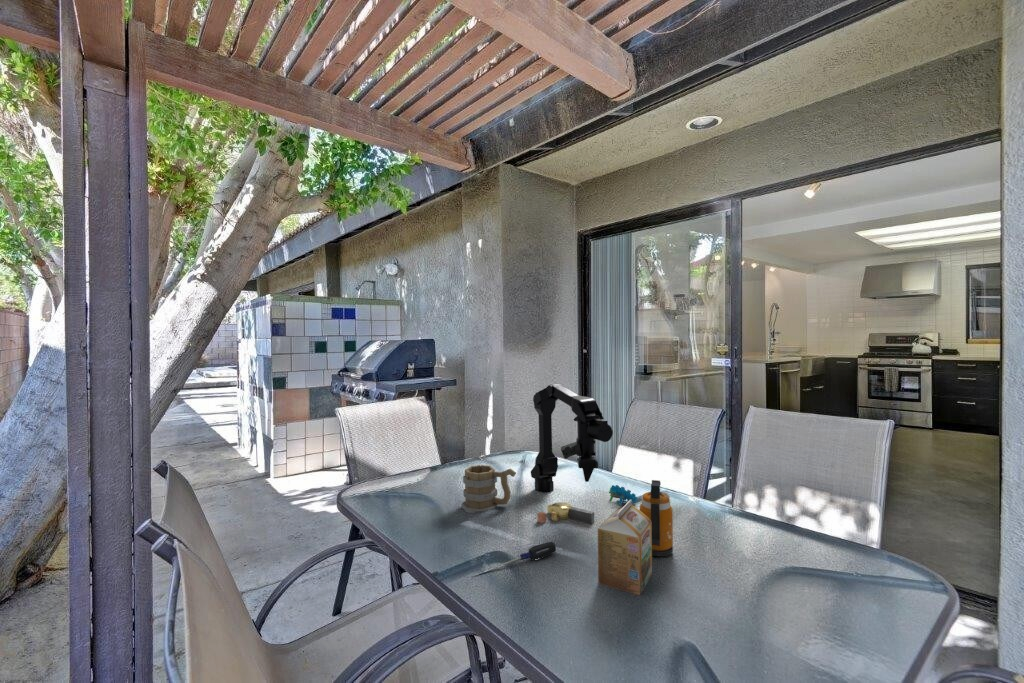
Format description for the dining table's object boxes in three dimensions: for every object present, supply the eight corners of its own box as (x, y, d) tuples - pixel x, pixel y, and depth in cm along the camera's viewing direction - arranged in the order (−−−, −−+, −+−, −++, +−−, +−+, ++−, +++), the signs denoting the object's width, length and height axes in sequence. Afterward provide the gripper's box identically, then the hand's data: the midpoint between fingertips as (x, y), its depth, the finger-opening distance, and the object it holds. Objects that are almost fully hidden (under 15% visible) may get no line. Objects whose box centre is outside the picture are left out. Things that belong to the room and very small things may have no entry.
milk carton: (639, 595, 113) (639, 517, 112) (598, 583, 118) (597, 509, 118) (652, 575, 122) (651, 502, 121) (612, 564, 127) (612, 495, 127)
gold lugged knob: (541, 517, 157) (541, 507, 157) (556, 507, 165) (556, 498, 165) (586, 528, 147) (585, 518, 147) (599, 517, 155) (599, 507, 155)
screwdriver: (472, 581, 121) (472, 566, 121) (467, 574, 124) (467, 560, 124) (558, 557, 133) (557, 543, 133) (551, 551, 136) (551, 538, 136)
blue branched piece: (643, 500, 169) (628, 485, 165) (637, 515, 166) (622, 500, 162) (619, 496, 177) (604, 481, 173) (613, 510, 174) (598, 495, 171)
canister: (672, 545, 137) (672, 478, 137) (672, 564, 127) (672, 491, 126) (641, 541, 140) (640, 475, 140) (638, 559, 130) (637, 488, 129)
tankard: (456, 511, 166) (455, 469, 166) (472, 499, 178) (472, 459, 177) (508, 519, 159) (507, 475, 158) (522, 505, 170) (521, 464, 170)
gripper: (561, 429, 169) (562, 472, 169) (562, 442, 150) (563, 490, 151) (593, 429, 168) (593, 472, 168) (597, 442, 149) (598, 491, 150)
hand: (586, 481), depth 159 cm, fingers closed
